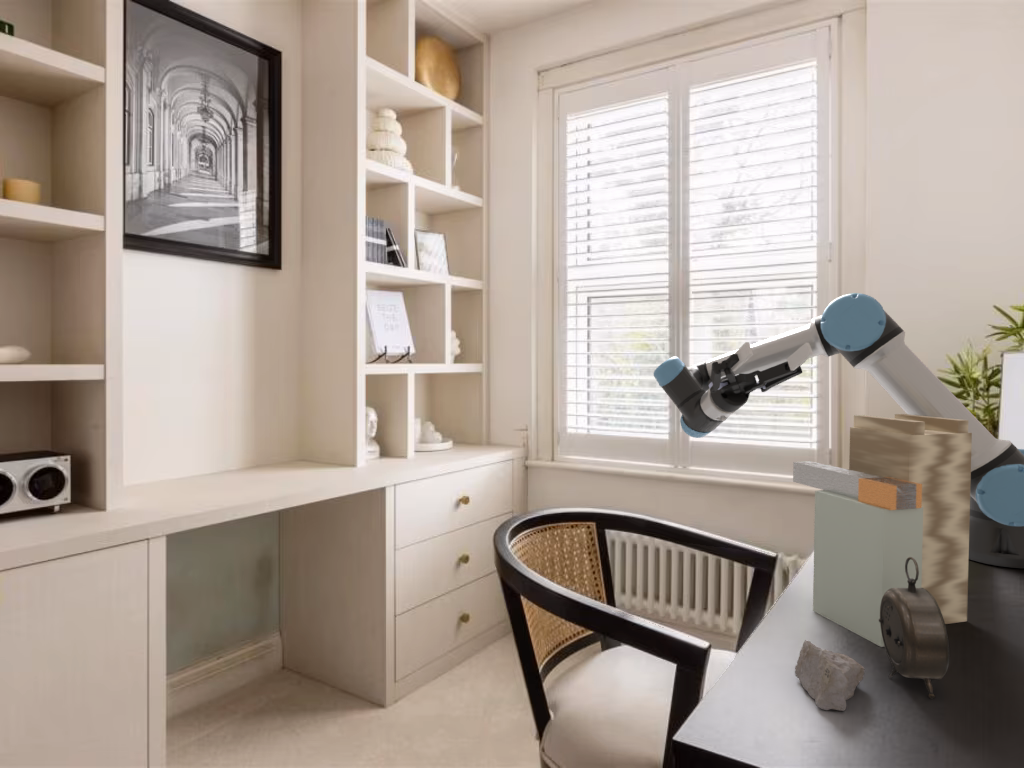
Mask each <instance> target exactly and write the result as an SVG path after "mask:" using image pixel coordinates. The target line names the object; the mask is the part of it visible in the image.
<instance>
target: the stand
mask: <svg viewBox="0 0 1024 768" xmlns="http://www.w3.org/2000/svg"><path fill="white" fill-rule="evenodd" d="M971 446H972V433H969V432H968V420H960V419H950V418H940V417H930V416H920V415H910V414H907V413H895V414H894V417H885V416H874V415H865V414H860V415H859V414H858V415H857V414H855V415H853V426H851V427H849V460H848V462H849V463H848V468H849V470H853V471H858V472H862V473H867V474H871V475H876V476H881V477H892V478H897V479H901V480H906V481H910V482H915V483H920V484H922V507H923V540H922V583H921V588H924V589H926V590H927V591H929V592H930V593H931V594H932V596H933V597H934V598H935V600H936V602H937V604H938V606H939V608H940V610H941V613H942V615H943V619H944V621H945V625H948V624H956V623H964V622H967V621H968V595H969V594H968V590H969V560H970V559H969V522H970V484H971Z"/></svg>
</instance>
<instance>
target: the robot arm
mask: <svg viewBox="0 0 1024 768" xmlns="http://www.w3.org/2000/svg"><path fill="white" fill-rule="evenodd" d="M905 336H906V331H905V330H903V328H901V326H900V325H899V324H898V323H897V322H896V321H895V320H894V319H893V318H892V317H891V316H890V315H889V314H888V312H886V310H885V309H884V308H883V306H882V304H881V303H880V302H879V301H878V300H877V299H875V298H874V297H873V296H871V295H868V294H865V293H859V292H852V293H847V294H843V295H841V296H839V297H836V298H835V299H833V300H832V301H831V302H829V304H828V305H827V306H826V307H825V309H824V311H823V312H822V314H821V315H818V316H816V317H813V318H811V320H810V322H809V323H808V324H806V325H804V326H803V325H802V326H800V327H798V328H795V329H792V330H788V331H786V332H784V333H783V332H782V333H780V334H778V335H775V336H772V337H769V338H767V339H764V340H761V341H758V342H756V343H753V344H750V342H744V343H743V344H742V345H741V346H740V347H739V348H738V349H736V350H733V351H729V352H727V353H724V354H722V355H718V356H716V357H713V358H710V359H708V360H704V361H701V362H699V363H696V364H695V363H694V364H693V365H690V366H689V365H688V366H687V365H686V364H685V362H683V361H682V359H680V357H678V356H672V357H669V358H668V359H666V360H665V361H663V362H662V363H661V364H659V365H658V366H657V367H656V369H654V371H653V377H654V378H655V380H656V382H657V383H658V386H659V387H661V389H662V390H663V391H664V392H665V394H666V395H667V396H668V398H669V399H670V400H671V401H672V403H674V405H675V406H676V407H677V408H678V410H679V412H680V413H681V414H682V415H681V417H680V421H679V422H680V426H681V429H682V430H683V432H684V433H685V434H686V435H688V436H690V437H692V438H695V439H697V438H698V439H701V438H703V437H706V436H708V434H710V433H711V432H713V431H714V430H716V429H717V428H718V427H719V426H720V425H721V424H722V423H723V422H725V421H726V420H727V419H728V418H729V417H730V416H731V415H733V414H734V413H735V412H737V410H739V409H740V408H741V407H743V406H745V404H746V403H747V402H748V400H749V397H750V394H751V393H753V392H754V391H756V390H757V389H758V390H761V393H765V392H767V391H768V390H771V389H772V388H773V387H775V386H777V385H780V384H783V383H784V382H786V381H789V380H790V379H793V378H795V377H796V376H799V375H801V374H803V369H802V367H801V366H802V365H803V364H804V363H806V362H807V360H809V359H811V358H814V357H817V356H824V357H827V358H829V357H832V356H835V355H838V354H841V355H842V357H843V358H844V359H846V361H847V362H848V363H849V364H850V365H851V366H852V367H853V368H854V369H856V370H865V371H867V372H868V374H870V376H871V377H872V378H873V379H874V380H875V381H876V382H877V383H878V384H879V385H880V386H881V387H882V388H883V390H885V391H886V393H887V394H888V396H889V397H891V399H892V400H894V402H895V403H896V404H897V405H898V406H899V407H900V408H901V409H902V410H903V412H905V414H910V415H920V416H930V417H940V418H950V419H960V420H968V432H969V433H972V446H971V484H970V522H969V560H971V561H974V562H978V563H981V564H986V565H992V566H996V567H997V566H998V567H1002V568H1003V567H1004V568H1013V569H1024V449H1022V448H1017V447H1016V446H1015V444H1013V442H1012V441H1011V440H1006V439H1000V438H999V439H998V438H996V437H995V436H994V435H993V434H992V433H991V432H990V431H989V430H988V429H987V428H986V426H984V425H983V424H982V422H980V421H979V420H978V419H977V418H976V417H975V415H974V414H973V413H971V411H970V410H969V409H968V408H967V407H966V406H965V405H964V404H963V403H962V401H960V399H958V397H956V395H954V394H953V392H952V391H951V390H950V389H949V388H948V387H947V386H946V385H945V384H944V383H943V382H942V381H941V380H940V378H938V377H937V376H936V374H935V373H933V372H932V370H931V369H930V368H929V367H928V366H927V365H926V364H925V363H924V362H923V361H922V360H921V359H920V358H919V357H918V356H917V355H916V354H915V353H914V352H913V350H911V349H910V348H909V346H908V345H907V344H906V343H905ZM756 376H757V378H756ZM757 379H758V382H757Z"/></svg>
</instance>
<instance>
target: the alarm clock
mask: <svg viewBox="0 0 1024 768" xmlns="http://www.w3.org/2000/svg"><path fill="white" fill-rule="evenodd" d="M910 559H911V560H913V562H914V564H915V568H916V578H915V579H913V578H909V574H908V569H907V566H908V562H909V560H910ZM905 572H906V576H907V578H908V580H907V582H908V588H891V589H889V590H887V591H886V592H885V594H884V595H883V597H882V600H881V605H880V619H879V622H880V626H881V633H882V638H883V642H884V646H885V647H884V649H885V651H886V654H887V656H888V658H889V661H890V664H891V667H892V668H891V671H890V673H889V676H888V678H889V679H892V678H893V677H894V675H895V674H896V673H899V674H900V675H901V676H902V677H905V678H907V679H908V678H909V679H922V680H923V681H924V684H925V687H926V690H927V692H928V695H927V696H928V698H929V699H931V700H932V699H935V695H934V688H933V686H934V685H933V683H932V680H942V679H943V678H944V677H945V675H946V674H947V672H948V668H949V664H950V643H949V635H948V631H947V626H946V625H947V624H945V621H944V619H943V615H942V613H941V610H940V608H939V606H938V604H937V602H936V600H935V598H934V597H933V596H932V594H931V593H930V592H929V591H927V590H926V589H924V588H916V587H915V584H916V581H917V580H918V576H919V568H918V564H917V562H916V560H915V559H914V558H913V557H908V558H907V560H906V563H905Z"/></svg>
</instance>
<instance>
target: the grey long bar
mask: <svg viewBox="0 0 1024 768" xmlns="http://www.w3.org/2000/svg"><path fill="white" fill-rule="evenodd" d="M792 465H793V466H792V467H793V469H792V471H793V472H792V474H793V475H792V481H793V483H797V484H801V485H804V486H808V487H811V488H815V489H819V490H825V491H829V492H833V493H836V494H840V495H844V496H847V497H851V498H855V499H858V501H859V502H862V503H866V504H870V505H873V506H877V507H880V508H884V509H888V510H901V509H914V508H922V484H920V483H915V482H910V481H906V480H901V479H897V478H892V477H881V476H876V475H871V474H867V473H862V472H858V471H853V470H849V469H847V468H843V467H838V466H834V465H829V464H826V463H822V462H821V463H820V462H817V461H811V460H808V461H793V464H792Z"/></svg>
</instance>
